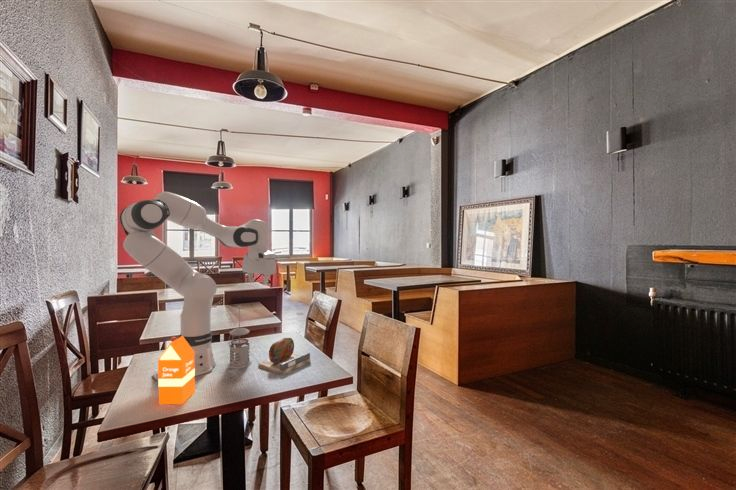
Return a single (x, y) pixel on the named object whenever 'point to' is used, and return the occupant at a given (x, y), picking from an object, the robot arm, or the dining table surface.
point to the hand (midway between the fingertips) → (258, 283)
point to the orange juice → (176, 373)
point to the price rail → (294, 361)
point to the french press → (239, 348)
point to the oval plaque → (281, 350)
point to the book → (276, 367)
